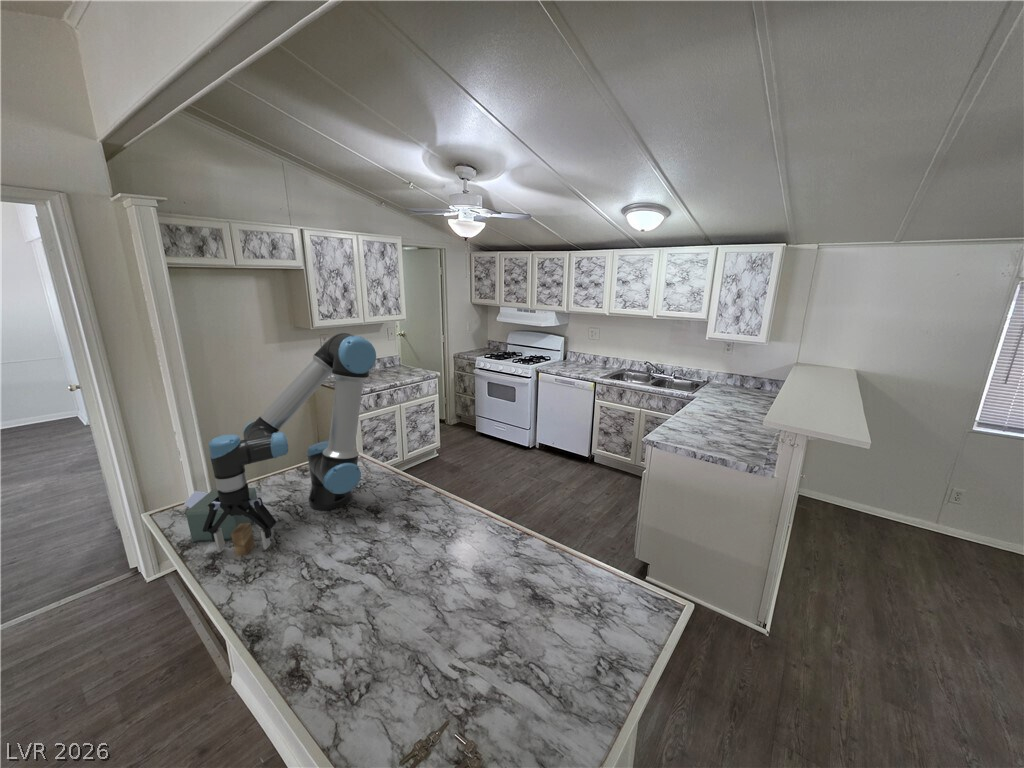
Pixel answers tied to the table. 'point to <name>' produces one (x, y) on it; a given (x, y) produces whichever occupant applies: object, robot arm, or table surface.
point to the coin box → (201, 511)
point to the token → (243, 539)
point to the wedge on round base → (195, 498)
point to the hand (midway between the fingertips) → (244, 548)
